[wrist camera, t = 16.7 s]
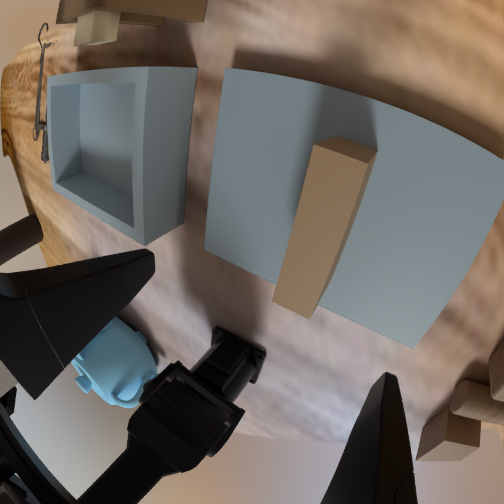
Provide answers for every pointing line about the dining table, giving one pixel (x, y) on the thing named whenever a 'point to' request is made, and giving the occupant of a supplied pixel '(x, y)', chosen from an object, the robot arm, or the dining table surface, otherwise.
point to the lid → (346, 201)
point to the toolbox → (124, 128)
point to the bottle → (19, 237)
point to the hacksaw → (39, 126)
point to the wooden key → (97, 28)
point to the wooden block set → (465, 416)
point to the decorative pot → (116, 364)
